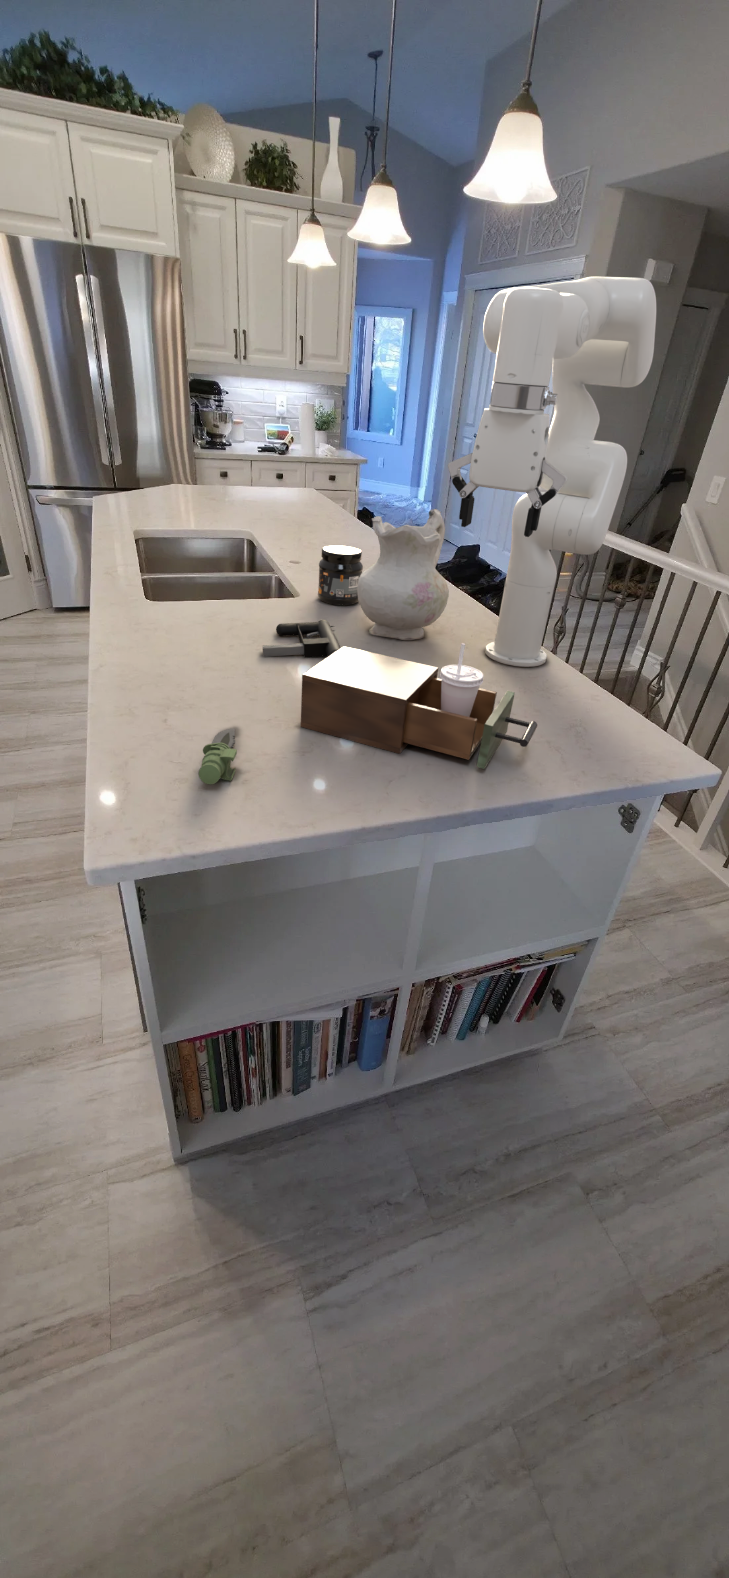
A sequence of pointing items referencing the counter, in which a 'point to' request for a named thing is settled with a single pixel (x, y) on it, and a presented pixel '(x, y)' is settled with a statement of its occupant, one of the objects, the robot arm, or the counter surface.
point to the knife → (218, 758)
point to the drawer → (461, 724)
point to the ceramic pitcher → (405, 579)
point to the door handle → (305, 640)
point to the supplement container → (339, 574)
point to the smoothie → (459, 687)
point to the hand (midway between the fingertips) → (496, 530)
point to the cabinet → (362, 696)
